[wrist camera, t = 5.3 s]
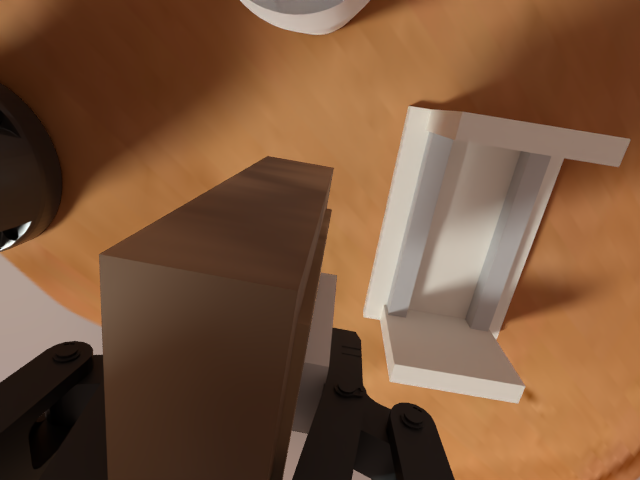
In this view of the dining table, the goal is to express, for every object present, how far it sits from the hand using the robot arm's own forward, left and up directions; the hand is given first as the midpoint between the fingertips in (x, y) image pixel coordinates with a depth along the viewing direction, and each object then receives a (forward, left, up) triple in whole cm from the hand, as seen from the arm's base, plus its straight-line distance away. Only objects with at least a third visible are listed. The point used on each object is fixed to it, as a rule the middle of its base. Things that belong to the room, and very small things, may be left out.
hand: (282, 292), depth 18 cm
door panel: (0, 0, -1) cm, 1 cm away
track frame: (+12, 0, -15) cm, 19 cm away
